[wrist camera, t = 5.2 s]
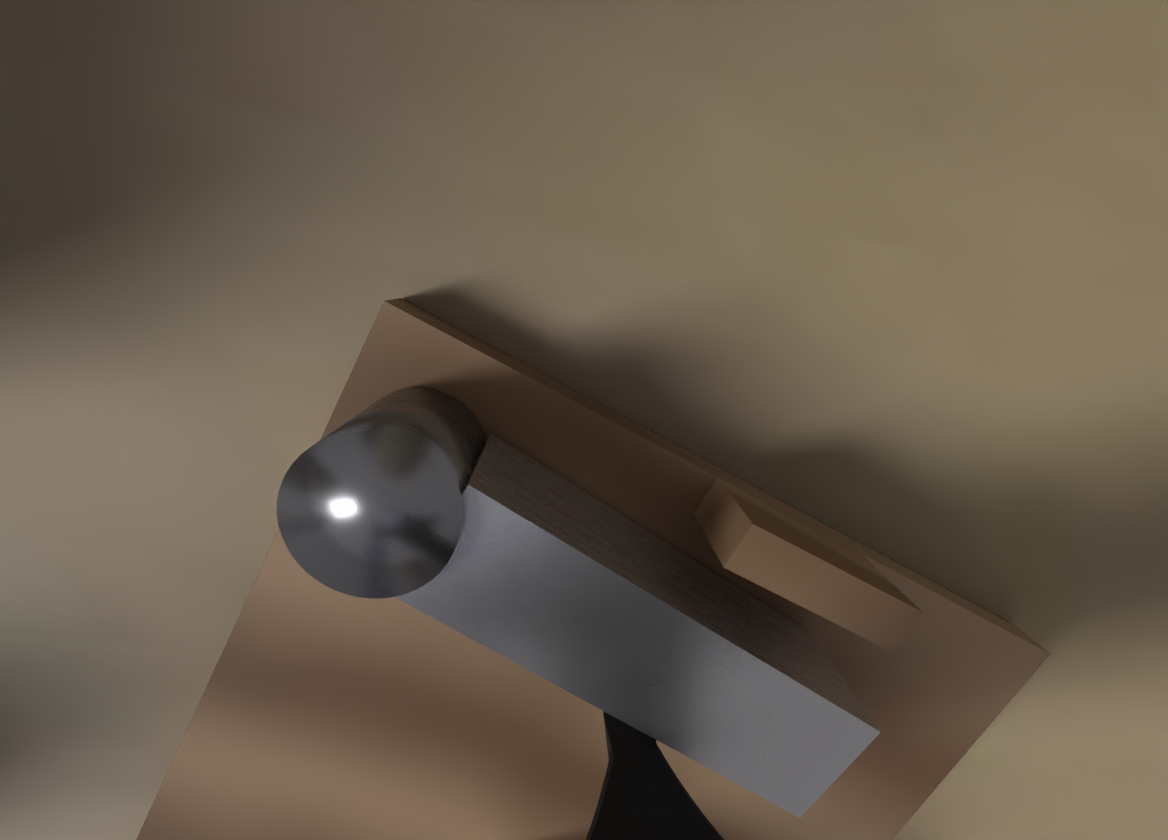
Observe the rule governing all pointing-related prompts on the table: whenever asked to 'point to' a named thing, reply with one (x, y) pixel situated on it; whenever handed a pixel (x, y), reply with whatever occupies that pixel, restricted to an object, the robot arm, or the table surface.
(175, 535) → the table surface
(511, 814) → the plate
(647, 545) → the hinged leg
